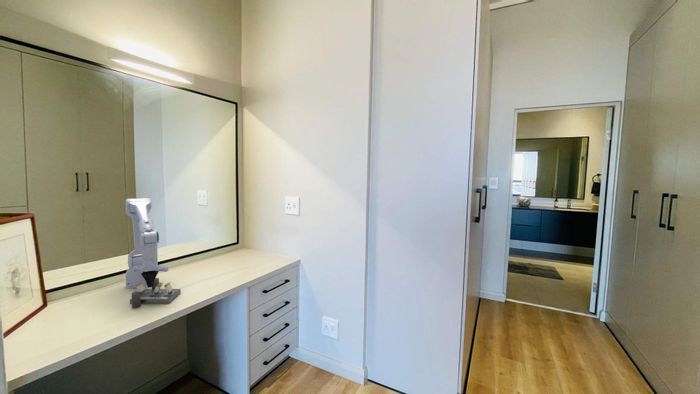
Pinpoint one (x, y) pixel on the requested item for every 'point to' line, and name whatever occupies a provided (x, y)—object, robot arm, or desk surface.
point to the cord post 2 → (155, 283)
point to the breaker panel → (157, 296)
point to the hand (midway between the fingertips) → (150, 286)
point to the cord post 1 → (136, 299)
